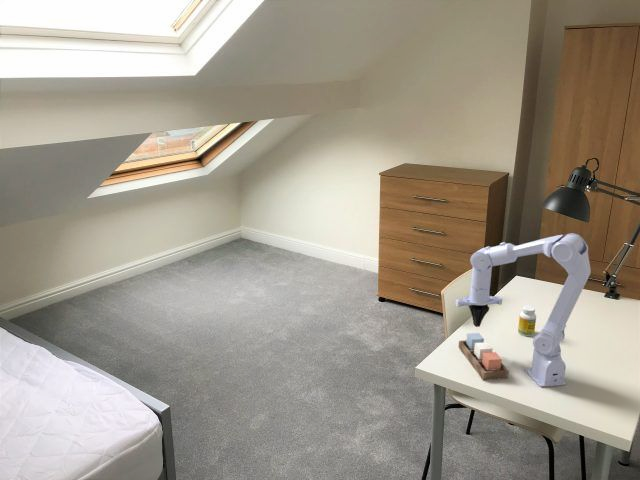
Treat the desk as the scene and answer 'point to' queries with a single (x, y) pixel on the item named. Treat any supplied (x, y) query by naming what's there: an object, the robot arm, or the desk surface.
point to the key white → (482, 349)
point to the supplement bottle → (527, 321)
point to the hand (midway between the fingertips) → (476, 325)
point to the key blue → (474, 339)
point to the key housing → (479, 366)
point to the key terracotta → (491, 361)
